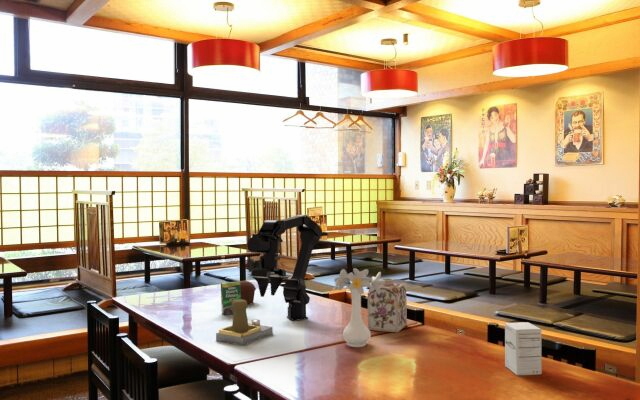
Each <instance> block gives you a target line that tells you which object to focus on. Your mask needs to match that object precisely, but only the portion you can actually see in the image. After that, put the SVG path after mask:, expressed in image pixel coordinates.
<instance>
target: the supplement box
mask: <svg viewBox="0 0 640 400" xmlns="http://www.w3.org/2000/svg"><path fill="white" fill-rule="evenodd" d="M504 366H505V367H506V368H507V369H509V370H510V371H511V372H513V373H514V375H516V376H531V375H533V376H534V375H542V368H543V366H542V328H540V327H538V326H537V325H534V324H532V323H530V322H528V321H527V322H524V321H523V322H521V321H520V322H519V321H518V322H505V323H504Z"/></svg>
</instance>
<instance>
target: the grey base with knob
mask: <svg viewBox="0 0 640 400" xmlns="http://www.w3.org/2000/svg"><path fill="white" fill-rule="evenodd" d="M248 327H249V331H246V332H243V333H238V332H232V324H230V325H228V326H225V327H223V328H219V329H218V332H216V333H215V341H216V342H222V343H227V344H231V345H232V344H233V345H238V346H245V345H249V344H251V343H253V342H255V341H259V340H261V339H263V338H265V337H269V336H271V335H273V334H274V333H273V329H274V328H273V326H268V325H261V320H260V319H252V320H251V323H250V322H248Z"/></svg>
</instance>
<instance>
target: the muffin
mask: <svg viewBox="0 0 640 400" xmlns="http://www.w3.org/2000/svg"><path fill="white" fill-rule="evenodd" d="M238 281H239V282H240V289H241V299H242V300H246V301H247V306H250V305H252V304H254V299H255V291H256V290H257V287H256V286H255V285H254V284H253V283H252V282H251V281H248V280H238Z"/></svg>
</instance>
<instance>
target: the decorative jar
mask: <svg viewBox="0 0 640 400" xmlns="http://www.w3.org/2000/svg"><path fill="white" fill-rule="evenodd" d="M380 280H384V281H385V284H384V285H382V286H379V288H380V294H378V293H377V292H376V290H375V289H374V291H373V292H372V291H371V288H369V289H368V292H367V327H368V329H369V330H370V331H377V332H386V333H387V332H388V333H399V332H400V331H402V329H403V328H405V327H406V326H407V324H408V319H407V318H408V317H407V316H408V315H407V312H408V311H407V309H408V308H407V305H408V304H407V289H406V287H405V285H403V284H402V283H398V282H394V281H395V280H394V278H391V277H384V278H381V279H380ZM370 285H371V286H372V284H370ZM377 286H378V285H377Z"/></svg>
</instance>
